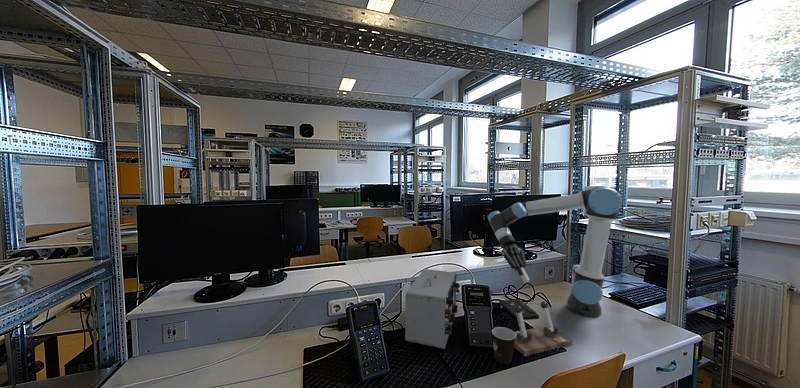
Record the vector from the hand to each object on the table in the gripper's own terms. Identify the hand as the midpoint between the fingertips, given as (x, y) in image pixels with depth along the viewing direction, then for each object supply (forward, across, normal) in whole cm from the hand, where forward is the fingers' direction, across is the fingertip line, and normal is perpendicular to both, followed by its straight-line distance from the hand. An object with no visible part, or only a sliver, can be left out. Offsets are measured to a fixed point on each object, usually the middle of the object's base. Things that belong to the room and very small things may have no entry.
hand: (527, 281), depth 133 cm
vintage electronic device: (+9, +43, -20) cm, 48 cm away
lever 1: (+22, +13, -1) cm, 25 cm away
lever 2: (+21, -1, -1) cm, 21 cm away
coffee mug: (+27, +26, -2) cm, 38 cm away
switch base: (+24, +6, -4) cm, 25 cm away
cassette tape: (+7, -5, -22) cm, 24 cm away
